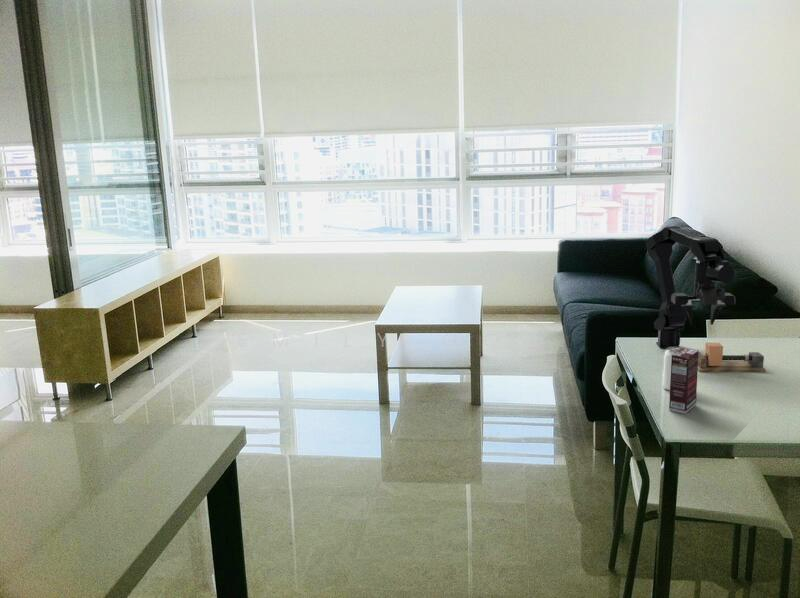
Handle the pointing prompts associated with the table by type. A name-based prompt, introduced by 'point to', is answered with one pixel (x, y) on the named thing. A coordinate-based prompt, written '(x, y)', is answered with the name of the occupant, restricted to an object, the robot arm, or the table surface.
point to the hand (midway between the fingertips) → (701, 324)
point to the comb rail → (734, 363)
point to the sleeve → (714, 354)
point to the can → (668, 366)
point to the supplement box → (683, 380)
